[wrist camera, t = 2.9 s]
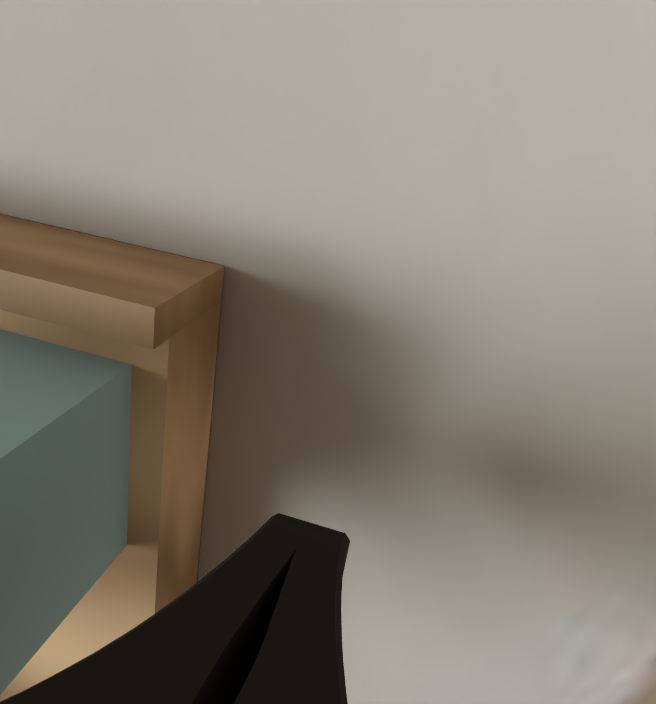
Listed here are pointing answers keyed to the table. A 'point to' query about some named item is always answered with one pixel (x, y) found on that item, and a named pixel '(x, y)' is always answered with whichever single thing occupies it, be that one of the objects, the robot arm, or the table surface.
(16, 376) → the teal block
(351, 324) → the table surface
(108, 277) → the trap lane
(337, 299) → the table surface
